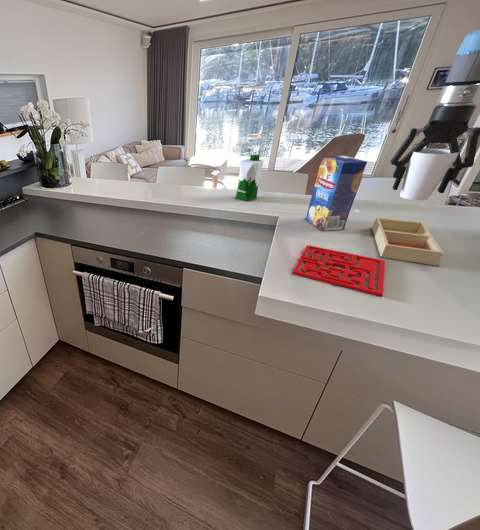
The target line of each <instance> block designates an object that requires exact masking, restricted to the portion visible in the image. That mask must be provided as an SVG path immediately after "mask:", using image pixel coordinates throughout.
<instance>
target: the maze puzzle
mask: <svg viewBox="0 0 480 530" xmlns="http://www.w3.org/2000/svg"><path fill="white" fill-rule="evenodd" d="M309 250H311V251H310V253H309V255H308V256H307V254H308V252H309ZM315 253H316V254H317V255H316V257H314V256H315ZM322 255H324V256H323V259H322V262H320V259H321V257H322ZM329 256H331V259H330V260H329ZM349 258H351V260H349V261H348V259H349ZM357 259H358V260H359V261H358V265H356V260H357ZM303 263H304V265H303V267H302V269H301V271H299V270H300V268H301V266H302V264H303ZM377 264H379V271H378V281H377V290H375V289H374V288H375V287H374V286H375V279H376V271H377V270H376V269H377ZM326 265H327V266H328V267H327V268H326ZM317 266H318V267H319V269H318V268H317ZM336 266H338V267H336ZM339 267H342V268H339ZM350 269H352V270H350ZM385 270H386V260H384V259H379V258H374V257H369V256H365V255H364V256H363V255H360V254H354V253H349V252H344V251H339V250H334V249H328V248H325V247H320V246H315V245H308V244H307V245H306V246H305V248H304V250H303V252H302V254H301V255H300V258H299V259H298V262H297V263H296V265H295V267H294V268H293V270H292V274H293V275H297V276H301V277H304V278H309V279H313V280H317V281H319V282H323V283H328V284H331V285H336V286H339V287H344V288H347V289H351V290H355V291H359V292H363V293H367V294H370V295H375V296H378V297H383V295H384V284H385V272H386V271H385ZM307 272H308V273H307ZM327 273H328V274H327ZM340 273H342V277H339V276H340ZM367 273H369V278H368V285H367V287H365V283H366V277H367ZM318 274H319V275H320V276H319V275H318ZM358 274H360V277H357V275H358ZM348 277H351V278H350V280H349V279H348ZM356 284H358V285H356Z"/></svg>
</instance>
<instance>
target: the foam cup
mask: <svg viewBox="0 0 480 530" xmlns="http://www.w3.org/2000/svg"><path fill="white" fill-rule="evenodd" d="M412 152H413V151H412ZM458 154H459V153H453V154H450V149H444V148H423V149H422V150H421V151H420V152H413V154H412V157H411V159H410V161H409V162H408V163H407V164H406V170H405V172H404V176H403V177H404V178H403V181H402V184H401V189H400V193H399V197H400V198H402V199H406V200H411V201H427V200H429V198H430V197H431V196H432V194H433V193H434V191H435V190H436V188H437V187H438V186H439V185H440V183H441V182H442V180H443V178H444V176H445V174H446V172H447V171H448V169H449V168H451V166H453V162H455V160H456V158H457V156H458Z"/></svg>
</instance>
